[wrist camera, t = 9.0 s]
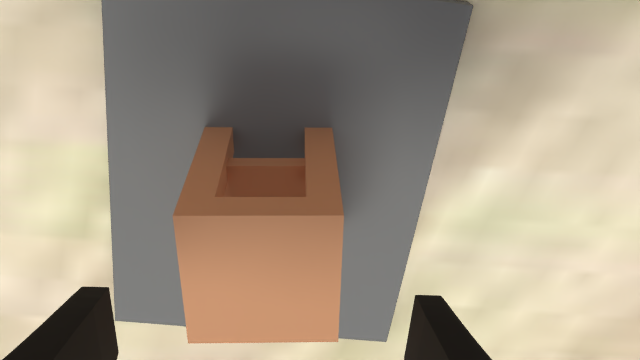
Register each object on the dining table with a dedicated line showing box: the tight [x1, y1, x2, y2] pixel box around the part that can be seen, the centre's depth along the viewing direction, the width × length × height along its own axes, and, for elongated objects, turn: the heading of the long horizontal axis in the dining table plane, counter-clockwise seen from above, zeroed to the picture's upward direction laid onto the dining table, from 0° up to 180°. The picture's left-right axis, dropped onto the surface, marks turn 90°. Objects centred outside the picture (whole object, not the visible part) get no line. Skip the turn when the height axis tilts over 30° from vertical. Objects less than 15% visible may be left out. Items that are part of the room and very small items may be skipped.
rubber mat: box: [102, 0, 473, 342], centre depth 22 cm, size 12×15×1 cm
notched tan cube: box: [173, 127, 344, 343], centre depth 19 cm, size 5×5×6 cm
